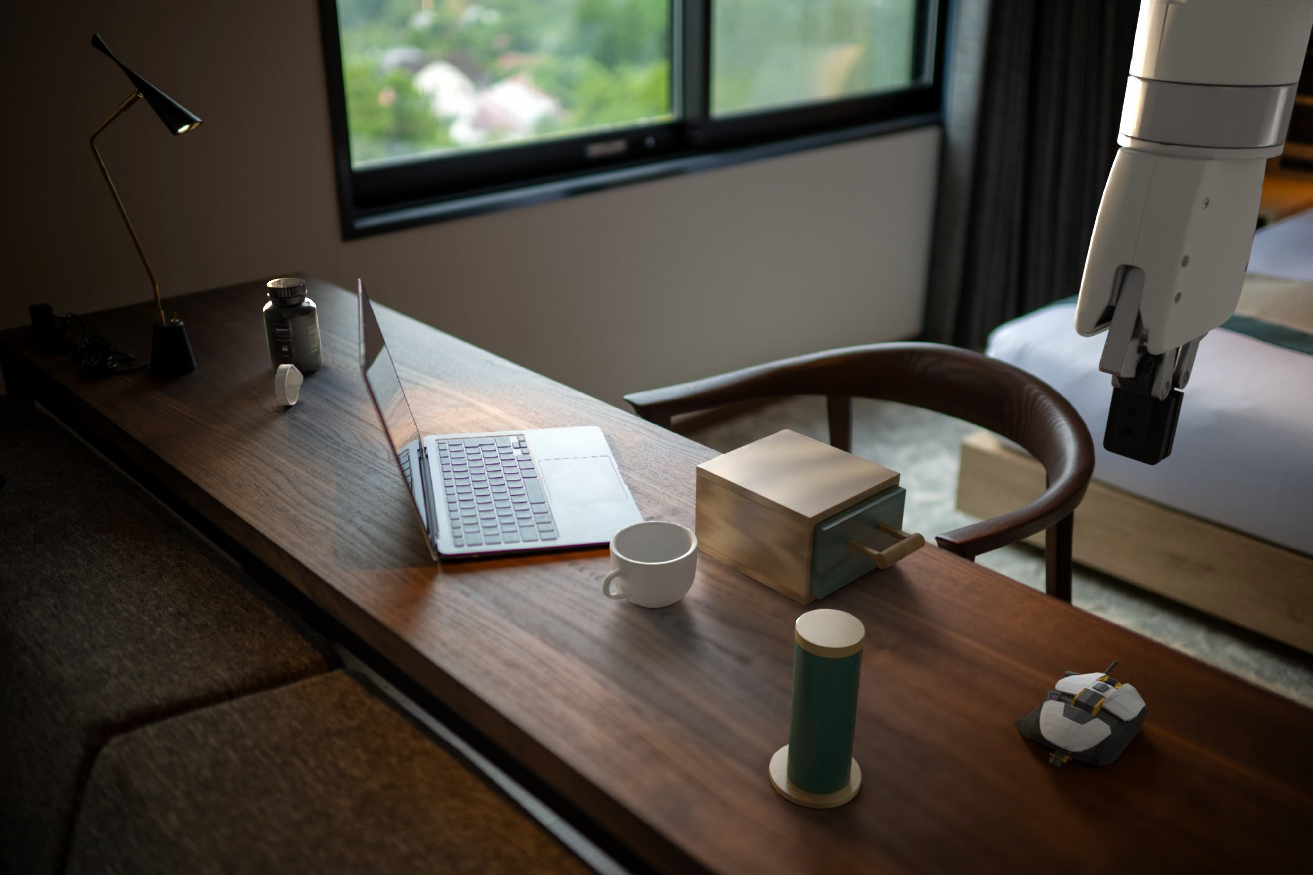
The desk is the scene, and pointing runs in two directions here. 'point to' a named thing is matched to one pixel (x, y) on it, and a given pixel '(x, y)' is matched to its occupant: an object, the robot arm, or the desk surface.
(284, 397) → the white thick rounded piece
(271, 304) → the supplement bottle
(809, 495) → the cabinet
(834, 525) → the drawer
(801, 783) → the tin
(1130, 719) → the computer mouse
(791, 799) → the coaster
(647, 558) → the teacup
